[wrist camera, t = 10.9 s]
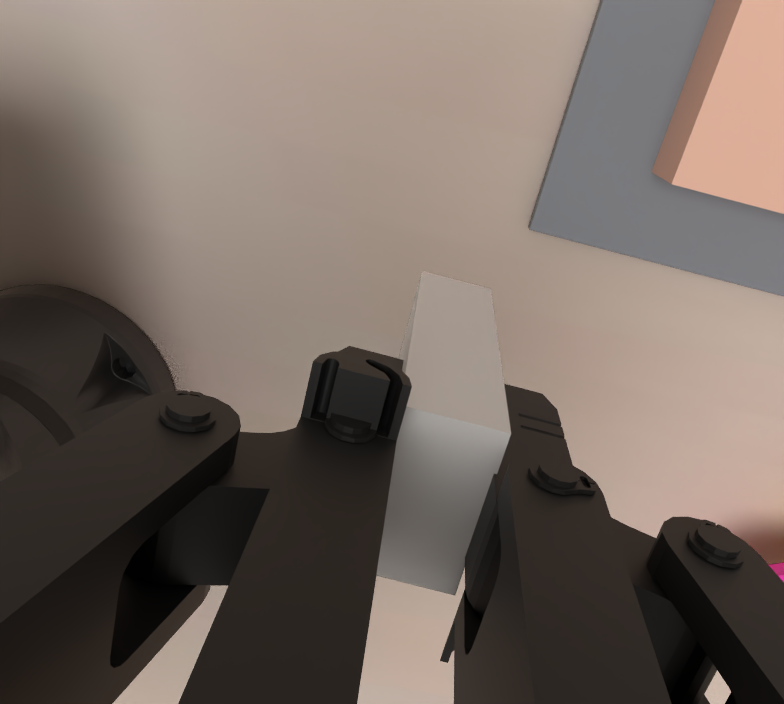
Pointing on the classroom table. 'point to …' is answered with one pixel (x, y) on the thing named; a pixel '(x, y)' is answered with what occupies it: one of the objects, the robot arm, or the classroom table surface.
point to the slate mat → (647, 156)
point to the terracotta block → (732, 109)
